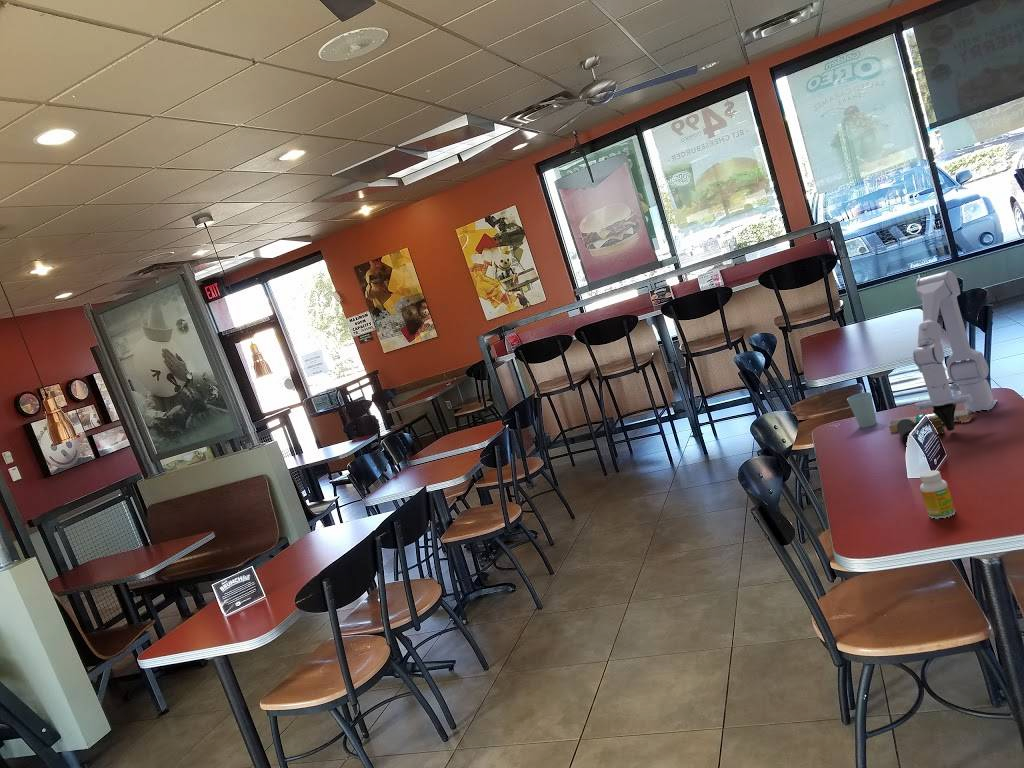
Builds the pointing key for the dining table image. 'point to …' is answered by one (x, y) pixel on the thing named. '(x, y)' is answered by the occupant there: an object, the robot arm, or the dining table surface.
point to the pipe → (958, 415)
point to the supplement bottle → (936, 495)
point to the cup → (863, 409)
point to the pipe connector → (908, 425)
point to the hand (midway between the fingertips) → (951, 429)
